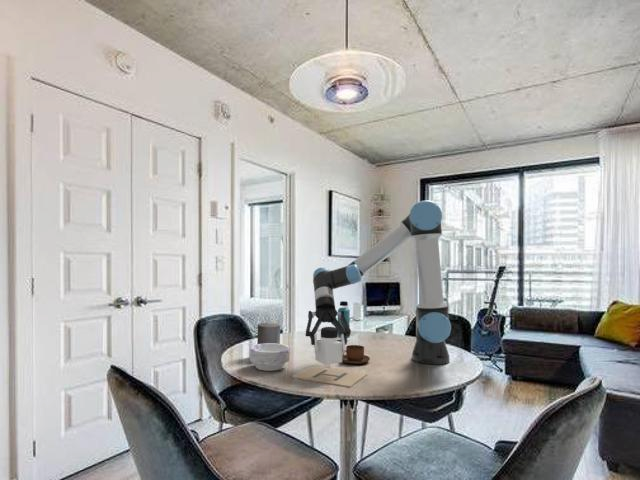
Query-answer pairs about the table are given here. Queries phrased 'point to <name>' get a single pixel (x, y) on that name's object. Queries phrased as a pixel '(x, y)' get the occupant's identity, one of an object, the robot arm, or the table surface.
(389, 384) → the table surface
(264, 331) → the pillar candle
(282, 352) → the paper bowls
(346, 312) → the beverage bottle
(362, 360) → the cup and saucer
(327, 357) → the medicine bottle
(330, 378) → the letter card
